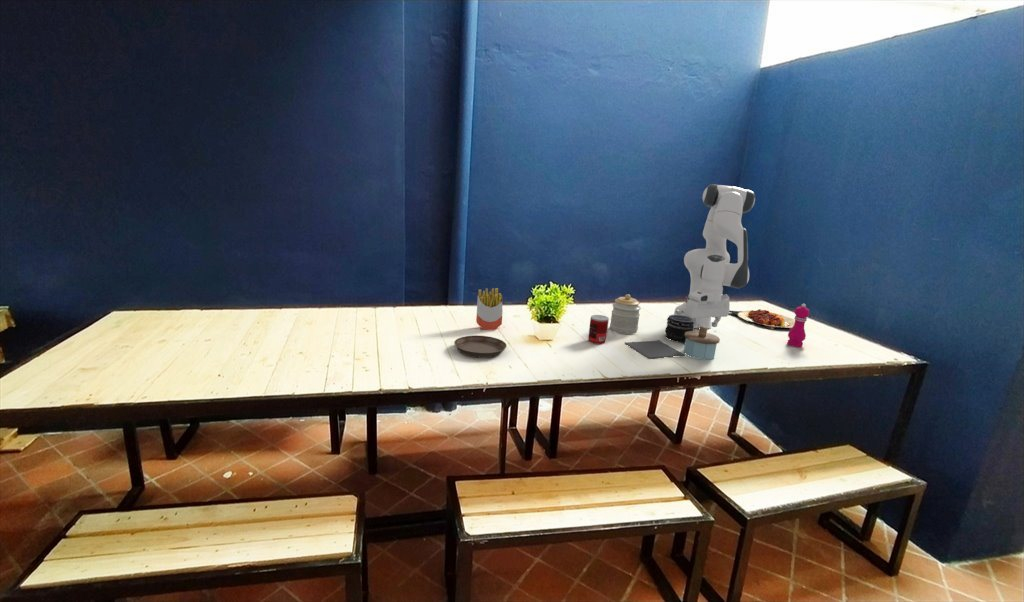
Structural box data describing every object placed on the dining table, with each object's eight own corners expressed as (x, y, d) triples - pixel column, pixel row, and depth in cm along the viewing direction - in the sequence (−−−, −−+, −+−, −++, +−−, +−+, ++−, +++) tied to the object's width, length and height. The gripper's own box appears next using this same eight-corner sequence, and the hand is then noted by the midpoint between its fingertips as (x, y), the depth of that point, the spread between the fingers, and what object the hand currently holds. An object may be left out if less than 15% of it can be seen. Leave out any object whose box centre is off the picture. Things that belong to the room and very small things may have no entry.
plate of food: (720, 310, 294) (723, 298, 292) (782, 317, 293) (785, 305, 291) (741, 328, 264) (745, 315, 262) (810, 336, 263) (814, 323, 261)
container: (678, 333, 247) (682, 313, 244) (698, 342, 236) (702, 321, 233) (658, 335, 241) (661, 314, 239) (677, 344, 230) (681, 323, 228)
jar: (628, 325, 253) (633, 290, 248) (642, 334, 241) (647, 297, 237) (604, 326, 249) (608, 290, 244) (618, 335, 237) (622, 298, 232)
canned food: (607, 340, 229) (610, 316, 226) (603, 345, 222) (606, 321, 219) (591, 337, 232) (593, 313, 229) (585, 342, 225) (588, 317, 222)
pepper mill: (805, 348, 238) (815, 306, 233) (788, 346, 239) (798, 304, 234) (800, 343, 245) (809, 302, 240) (784, 341, 246) (793, 300, 241)
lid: (677, 333, 222) (679, 322, 221) (703, 332, 227) (705, 321, 226) (699, 345, 209) (701, 333, 208) (726, 343, 214) (728, 331, 213)
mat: (624, 343, 226) (624, 342, 226) (659, 341, 233) (659, 340, 232) (648, 358, 210) (649, 357, 210) (685, 356, 216) (685, 354, 216)
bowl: (678, 349, 223) (680, 334, 222) (700, 348, 228) (703, 333, 226) (696, 360, 212) (699, 344, 211) (720, 358, 217) (723, 342, 215)
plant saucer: (471, 338, 219) (472, 331, 218) (515, 349, 210) (515, 341, 210) (443, 352, 202) (443, 344, 201) (489, 365, 193) (490, 356, 192)
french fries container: (501, 329, 233) (504, 290, 228) (478, 330, 230) (480, 290, 225) (499, 326, 237) (501, 288, 232) (475, 326, 234) (478, 288, 229)
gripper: (724, 292, 220) (719, 323, 223) (685, 293, 212) (680, 326, 216) (735, 296, 214) (730, 328, 217) (695, 297, 207) (690, 330, 210)
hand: (705, 327), depth 216 cm, fingers open, 8 cm apart
